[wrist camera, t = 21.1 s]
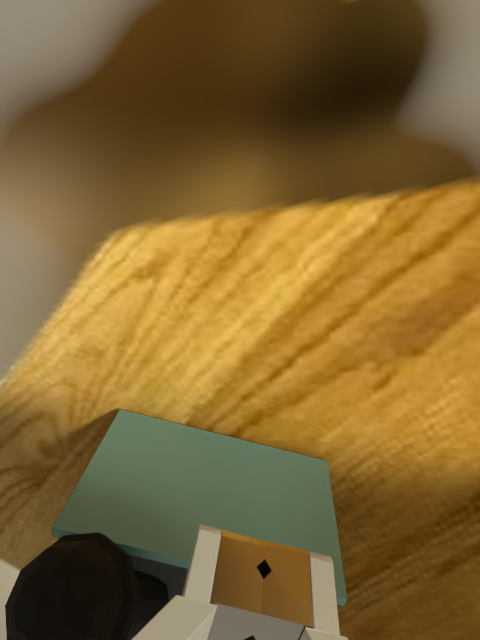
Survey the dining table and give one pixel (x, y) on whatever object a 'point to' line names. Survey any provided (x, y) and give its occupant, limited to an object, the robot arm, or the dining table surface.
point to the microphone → (82, 593)
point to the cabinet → (198, 496)
